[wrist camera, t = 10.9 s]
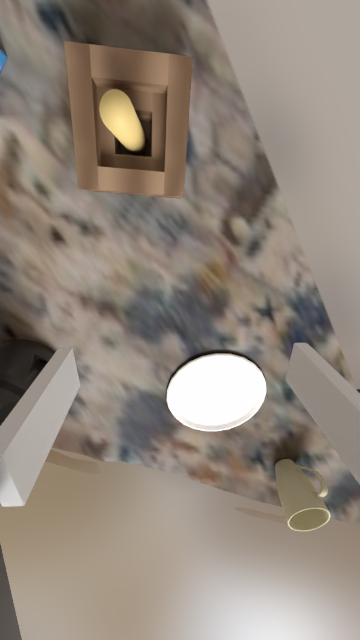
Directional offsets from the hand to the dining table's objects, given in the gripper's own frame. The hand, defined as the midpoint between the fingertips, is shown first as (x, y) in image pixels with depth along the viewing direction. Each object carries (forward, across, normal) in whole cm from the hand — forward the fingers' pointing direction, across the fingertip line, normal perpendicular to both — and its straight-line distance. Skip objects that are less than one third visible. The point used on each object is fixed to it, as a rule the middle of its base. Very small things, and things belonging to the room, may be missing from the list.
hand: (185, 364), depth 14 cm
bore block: (+27, -4, +16) cm, 31 cm away
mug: (+27, +29, -50) cm, 64 cm away
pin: (+26, -4, +16) cm, 31 cm away
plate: (+27, +9, -27) cm, 39 cm away
